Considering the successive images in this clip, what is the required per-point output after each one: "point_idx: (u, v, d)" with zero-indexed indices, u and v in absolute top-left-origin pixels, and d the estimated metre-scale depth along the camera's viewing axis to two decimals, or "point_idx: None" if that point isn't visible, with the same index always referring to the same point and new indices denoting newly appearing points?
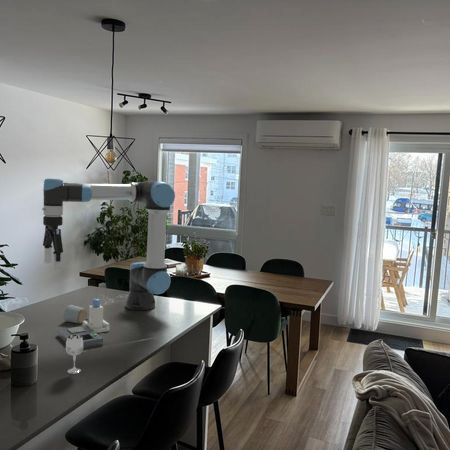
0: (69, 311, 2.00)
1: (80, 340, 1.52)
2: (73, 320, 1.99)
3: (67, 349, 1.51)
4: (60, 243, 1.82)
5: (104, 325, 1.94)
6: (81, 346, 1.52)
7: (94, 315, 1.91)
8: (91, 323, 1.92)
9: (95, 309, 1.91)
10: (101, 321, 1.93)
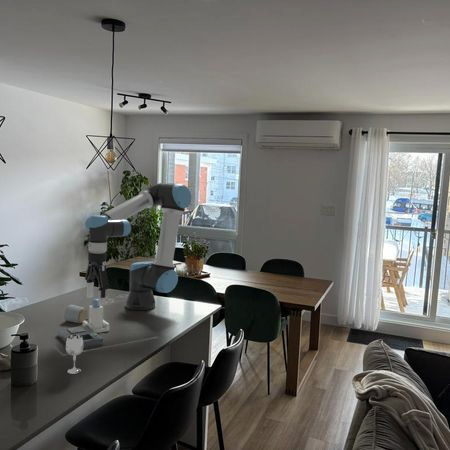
0: (70, 311, 2.00)
1: (80, 340, 1.52)
2: (74, 320, 2.00)
3: (67, 349, 1.51)
4: (105, 280, 1.85)
5: (104, 325, 1.94)
6: (81, 346, 1.52)
7: (94, 315, 1.91)
8: (91, 323, 1.92)
9: (95, 309, 1.91)
10: (101, 321, 1.93)
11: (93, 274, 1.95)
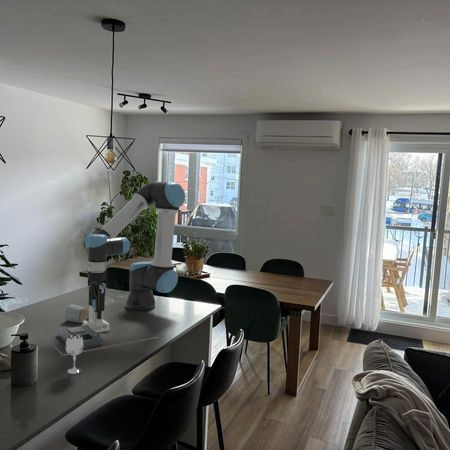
0: (70, 310, 2.01)
1: (80, 340, 1.52)
2: (74, 319, 2.00)
3: (67, 349, 1.51)
4: (103, 302, 1.88)
5: (104, 325, 1.94)
6: (81, 346, 1.52)
7: (94, 315, 1.91)
8: (91, 323, 1.92)
9: (95, 309, 1.91)
10: None
11: (95, 295, 1.94)
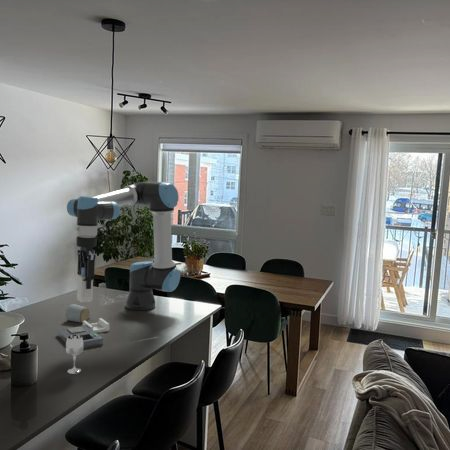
0: (71, 310, 2.01)
1: (80, 340, 1.52)
2: (75, 319, 2.01)
3: (67, 349, 1.51)
4: (92, 270, 1.71)
5: (104, 325, 1.94)
6: (81, 346, 1.52)
7: (82, 284, 1.74)
8: (79, 293, 1.75)
9: (84, 278, 1.74)
10: None
11: None
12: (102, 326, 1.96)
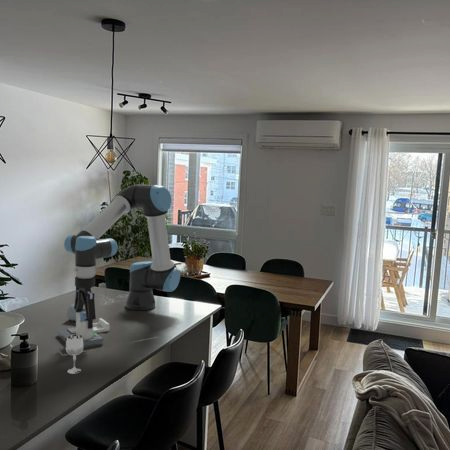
0: (72, 310, 2.02)
1: (80, 340, 1.52)
2: None
3: (67, 349, 1.51)
4: (93, 309, 1.70)
5: (104, 325, 1.94)
6: (81, 346, 1.52)
7: (81, 329, 1.74)
8: None
9: (82, 323, 1.74)
10: (89, 336, 1.76)
11: (82, 301, 1.78)
12: (102, 326, 1.96)
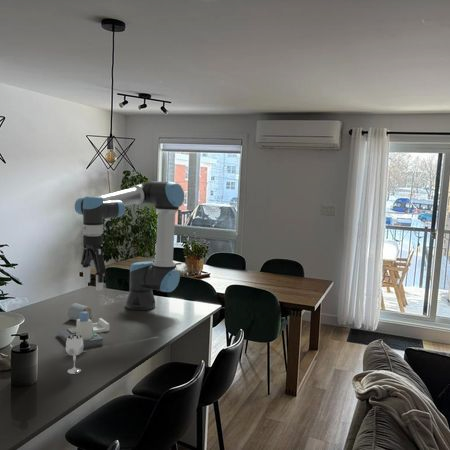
0: (73, 309, 2.03)
1: (80, 340, 1.52)
2: (77, 318, 2.02)
3: (67, 349, 1.51)
4: (103, 264, 1.76)
5: (104, 325, 1.94)
6: (81, 346, 1.52)
7: (81, 329, 1.74)
8: None
9: (82, 323, 1.74)
10: (89, 336, 1.76)
11: (89, 258, 1.86)
12: (102, 326, 1.96)
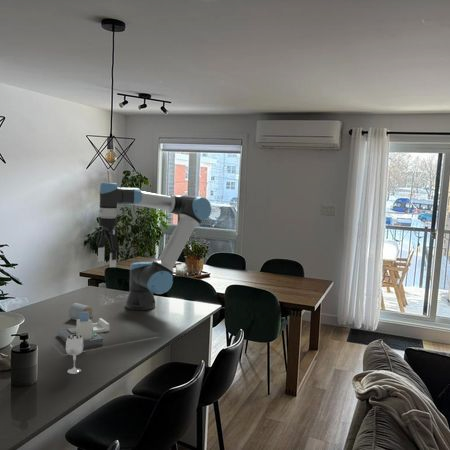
0: (74, 309, 2.03)
1: (80, 340, 1.52)
2: (78, 318, 2.03)
3: (67, 349, 1.51)
4: (116, 243, 1.96)
5: (104, 325, 1.94)
6: (81, 346, 1.52)
7: (81, 329, 1.74)
8: None
9: (82, 323, 1.74)
10: (89, 336, 1.76)
11: (104, 239, 2.05)
12: (102, 326, 1.96)
